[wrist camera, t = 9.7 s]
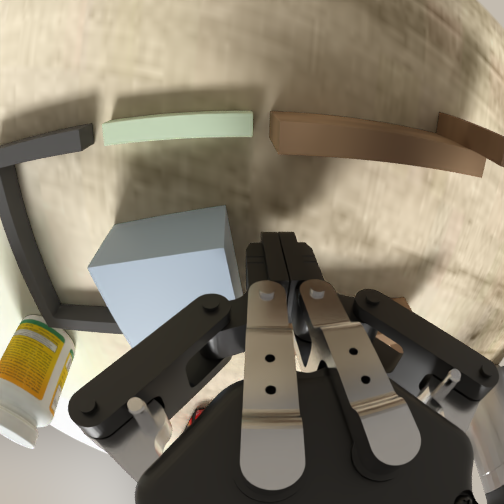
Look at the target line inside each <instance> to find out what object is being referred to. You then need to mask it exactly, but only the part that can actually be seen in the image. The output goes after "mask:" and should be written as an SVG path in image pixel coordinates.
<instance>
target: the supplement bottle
mask: <svg viewBox="0 0 504 504" xmlns="http://www.w3.org/2000/svg"><path fill="white" fill-rule="evenodd" d="M74 355H75V346H74V343H73V341H72V339H71V338H70V336H69V335H68V334H67V333H66V332H65V331H64V330H63V329H60V328H51V327H48V325H47V324H46V322H45V320H44V318H43V317H42V316H39V315H29V316H26V317H25V318H24V319H23V320H22V321H21V323H20V325H19V326H18V328H17V330H16V332H15V333H14V335H13V337H12V339H11V341H10V343H9V345H8V346H7V349H6V350H5V352H4V354H3V356H2V358H1V360H0V434H2V435H3V436H5V437H7V438H8V439H10V440H12V441H14V442H16V443H18V444H20V445H22V446H24V447H27V448H31V449H34V447H35V444H36V441H37V438H38V431H37V429H36V428H37V427H45V426H47V425H49V424H50V423H51V421H52V419H53V416H54V413H55V410H56V407H57V404H58V400H59V397H60V394H61V392H62V389H63V386H64V383H65V380H66V377H67V375H68V372H69V369H70V366H71V364H72V361H73V358H74Z"/></svg>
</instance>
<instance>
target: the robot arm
mask: <svg viewBox="0 0 504 504" xmlns="http://www.w3.org/2000/svg"><path fill="white" fill-rule="evenodd" d="M246 289H247V292H246V293H245V294H244V295H243V296H241V297H239V298H237V299H234V300H230V301H229V300H228V299H227V298H226V297H224V296H222V295H219V294H214V293H210V294H204V295H201V296H199V297H198V298H196V299H195V300H194V301H192V302H191V303H190V304H188V305H187V306H186V307H185V308H183V309H182V310H181V311H179V312H178V313H177V314H176V315H174V316H173V317H172V318H171V319H169V320H168V321H167V322H165V323H164V324H163V325H162V326H160V327H159V328H158V329H156V330H155V331H154V332H153V333H151V334H150V335H149V336H147V337H146V338H145V339H144V340H142V341H141V342H140V343H138V344H137V345H136V346H135V347H133V348H132V349H131V350H129V351H128V352H127V353H126V354H124V355H123V356H122V357H120V358H119V359H118V360H117V361H115V362H114V363H113V364H112V365H110V366H109V367H108V368H106V369H105V370H104V371H103V372H101V373H100V374H99V375H97V376H96V377H95V378H93V379H92V380H91V381H90V382H88V383H87V384H86V385H84V386H83V387H82V388H81V389H79V390H78V391H77V392H76V393H75V394H74V395H73V396H72V397H71V399H70V401H69V405H68V412H69V415H70V417H71V419H72V420H73V421H74V422H75V423H76V424H77V425H78V426H79V427H80V428H81V429H82V431H83V432H84V434H85V435H87V436H88V437H89V438H90V439H91V440H92V441H93V442H94V443H95V444H96V445H98V446H99V447H100V448H102V449H104V450H105V451H106V452H107V453H108V454H109V455H110V456H111V457H112V458H113V459H114V460H115V461H116V462H117V463H118V464H119V465H120V466H121V467H122V468H123V469H124V470H125V471H126V472H127V473H128V474H129V475H130V476H131V477H132V478H133V479H134V480H135V481H136V482H137V486H136V491H135V503H136V504H478V503H477V502H476V500H475V498H474V496H473V493H472V467H473V460H475V463H476V466H477V469H478V473H479V476H480V479H481V482H482V485H483V488H484V492H485V493H486V494H485V495H486V499H487V504H504V366H502V367H500V366H499V365H494V363H492V362H491V361H490V360H489V359H487V358H485V357H484V356H482V355H481V354H479V353H478V352H476V351H475V350H473V349H471V348H470V347H468V346H467V345H465V344H464V343H462V342H460V341H459V340H457V339H456V338H454V337H452V336H451V335H449V334H448V333H446V332H444V331H443V330H441V329H440V328H438V327H436V326H435V325H433V324H432V323H430V322H428V321H427V320H425V319H423V318H422V317H420V316H419V315H417V314H415V313H414V312H412V311H410V310H409V309H407V308H405V307H404V306H402V305H400V304H399V303H397V302H395V301H394V300H392V299H390V298H389V297H387V296H385V295H384V294H382V293H380V292H378V291H376V290H372V289H364V290H361V291H359V292H358V293H357V294H356V297H355V298H354V297H349V296H343V295H340V294H337V293H336V292H335V290H334V288H333V287H332V285H330V284H329V283H327V282H325V281H324V279H323V276H322V273H321V271H320V268H319V266H318V263H317V260H316V258H315V255H314V253H313V250H312V248H311V247H310V246H308V245H307V244H306V243H305V242H297V239H296V236H295V233H294V232H278V233H277V232H261V240H260V243H250V244H249V245H248V247H247V249H246ZM289 323H292V326H293V331H292V329H291V328H289ZM378 331H379V332H380V333H382V334H383V335H385V336H386V337H388V338H389V339H391V340H393V341H394V342H396V343H397V344H399V345H400V346H401V347H402V349H403V353H399V352H398V351H396V350H395V349H393V348H392V347H390V346H389V345H387V344H386V343H384V342H383V341H381V340H380V339H378V338H376V335H377V333H378ZM294 348H295V352H296V355H297V358H298V362H299V365H300V369H301V372H298V371H296V363H295V352H294ZM242 352H245V366H244V380H241V381H238V382H236V383H234V384H232V385H230V386H228V387H227V388H225V389H224V390H223V391H221V392H220V393H219V394H218V395H217V396H216V397H215V398H214V400H213V401H212V402H211V403H210V404H209V405H208V406H207V407H206V408H205V409H204V411H203V412H202V413H201V414H200V415H199V416H198V417H197V418H196V419H195V420H194V421H193V422H192V424H191V425H190V426H189V427H188V428H187V429H186V430H185V431H184V432H183V433H182V434H181V435H180V436H179V437H178V438H177V439H176V440H175V441H174V442H173V444H172V445H171V446H170V447H169V448H168V449H167V450H166V451H165V452H164V453H163V449H164V447H165V445H166V443H167V442H168V441H169V439H170V437H171V435H172V425H171V423H170V421H169V420H170V419H171V418H172V417H173V416H174V415H175V414H176V413H177V412H178V411H179V410H180V409H181V408H182V407H183V406H185V405H186V404H187V403H188V402H189V401H190V400H191V399H192V398H193V397H194V396H195V395H196V394H197V393H198V392H199V391H200V390H201V389H202V388H203V387H204V386H205V385H206V384H207V383H208V382H209V381H210V380H211V379H212V378H213V377H214V376H215V375H216V374H217V373H218V372H219V371H220V370H221V369H222V368H223V367H224V366H225V365H226V364H227V363H228V362H229V361H230V359H231V357H232V355H236V354H239V353H242Z"/></svg>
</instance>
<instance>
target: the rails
mask: <svg viewBox="0 0 504 504" xmlns="http://www.w3.org/2000/svg"><path fill="white" fill-rule="evenodd" d="M102 129H103V138H104V146H108V145H116V144H124V143H134V142H144V141H155V140H168V139H185V138H208V137H253V112H252V111H201V112H183V113H169V114H157V115H147V116H138V117H130V118H123V119H116V120H110V121H108V122H106V123H103V124H102Z"/></svg>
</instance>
